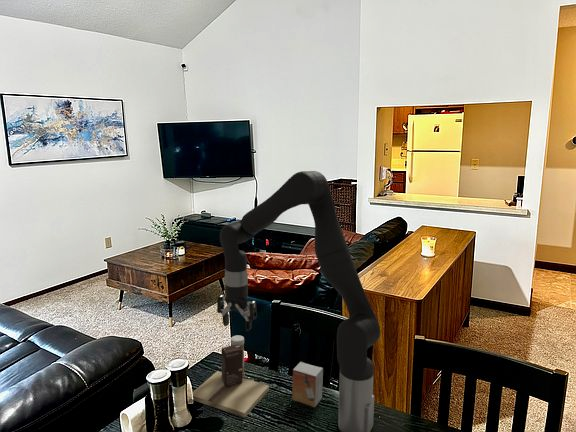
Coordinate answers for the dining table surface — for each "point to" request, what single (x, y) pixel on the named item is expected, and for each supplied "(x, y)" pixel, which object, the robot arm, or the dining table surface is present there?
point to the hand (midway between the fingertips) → (237, 327)
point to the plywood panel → (230, 394)
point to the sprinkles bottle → (239, 340)
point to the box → (232, 365)
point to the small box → (307, 384)
